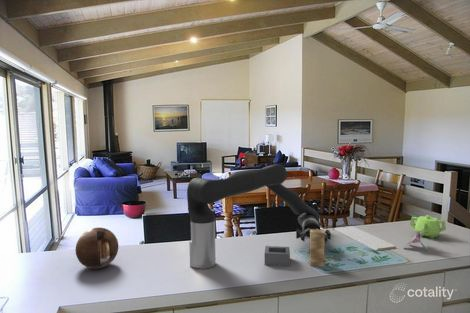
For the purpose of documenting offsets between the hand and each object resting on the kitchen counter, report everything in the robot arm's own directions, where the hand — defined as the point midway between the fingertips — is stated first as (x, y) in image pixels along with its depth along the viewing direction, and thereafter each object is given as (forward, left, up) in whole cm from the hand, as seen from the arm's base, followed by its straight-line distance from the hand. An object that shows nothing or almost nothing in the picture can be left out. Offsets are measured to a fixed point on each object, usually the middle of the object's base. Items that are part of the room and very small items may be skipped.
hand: (314, 239), depth 144 cm
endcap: (-15, -7, -7) cm, 18 cm away
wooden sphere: (-82, -20, -7) cm, 85 cm away
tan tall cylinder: (0, -8, -7) cm, 11 cm away
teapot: (+55, +32, -7) cm, 64 cm away
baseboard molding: (+24, +25, -8) cm, 35 cm away
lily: (+44, +14, -7) cm, 46 cm away
